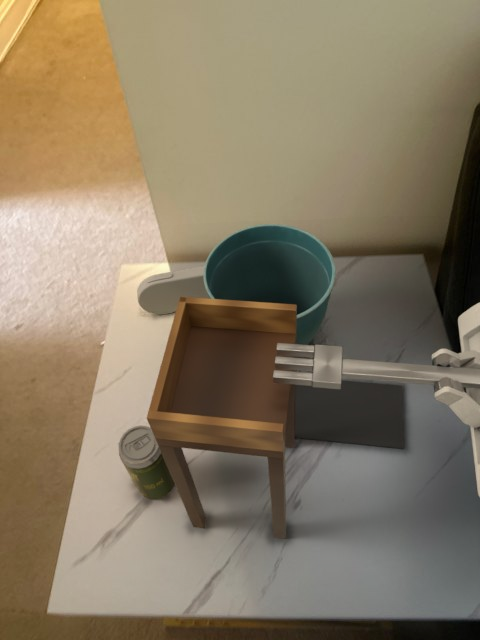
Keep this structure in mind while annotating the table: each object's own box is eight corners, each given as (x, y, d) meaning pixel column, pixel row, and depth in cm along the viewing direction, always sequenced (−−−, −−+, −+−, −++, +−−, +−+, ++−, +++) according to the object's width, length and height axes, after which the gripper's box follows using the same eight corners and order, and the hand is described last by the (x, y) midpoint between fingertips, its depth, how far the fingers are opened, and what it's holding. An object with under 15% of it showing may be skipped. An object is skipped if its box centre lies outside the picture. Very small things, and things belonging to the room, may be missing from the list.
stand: (295, 438, 80) (296, 304, 56) (285, 539, 71) (282, 432, 48) (212, 429, 81) (179, 296, 58) (193, 527, 73) (146, 418, 49)
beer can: (163, 456, 79) (146, 415, 70) (184, 485, 77) (169, 447, 67) (130, 479, 78) (108, 440, 68) (150, 509, 75) (130, 474, 65)
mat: (402, 386, 83) (402, 385, 83) (403, 449, 77) (404, 448, 77) (255, 374, 87) (254, 372, 86) (246, 433, 81) (245, 431, 80)
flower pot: (341, 380, 85) (351, 310, 71) (223, 399, 84) (210, 332, 71) (315, 290, 96) (319, 215, 82) (210, 306, 95) (197, 233, 82)
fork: (477, 362, 50) (480, 356, 50) (482, 401, 48) (485, 395, 47) (277, 347, 53) (277, 341, 52) (272, 383, 51) (272, 378, 50)
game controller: (254, 288, 97) (251, 255, 91) (256, 298, 96) (254, 265, 89) (142, 308, 96) (131, 275, 90) (143, 318, 95) (132, 286, 88)
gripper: (561, 318, 57) (453, 265, 53) (614, 522, 44) (478, 471, 41) (511, 347, 61) (409, 300, 58) (546, 538, 49) (419, 494, 45)
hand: (437, 372), depth 49 cm, fingers closed on fork
